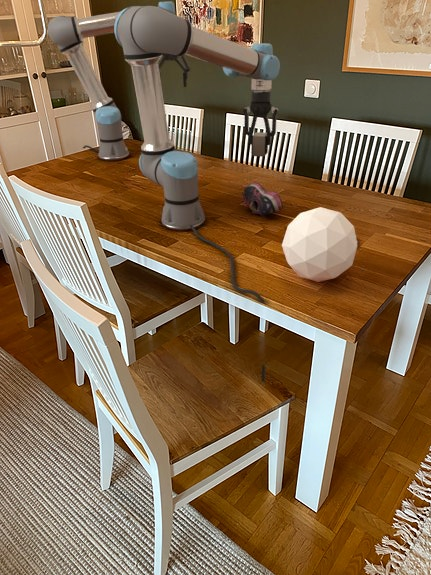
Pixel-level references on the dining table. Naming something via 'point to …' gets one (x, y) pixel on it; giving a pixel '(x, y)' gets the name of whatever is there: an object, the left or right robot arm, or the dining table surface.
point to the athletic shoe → (261, 200)
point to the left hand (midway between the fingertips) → (172, 86)
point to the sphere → (320, 244)
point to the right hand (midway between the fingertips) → (259, 152)
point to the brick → (259, 144)
